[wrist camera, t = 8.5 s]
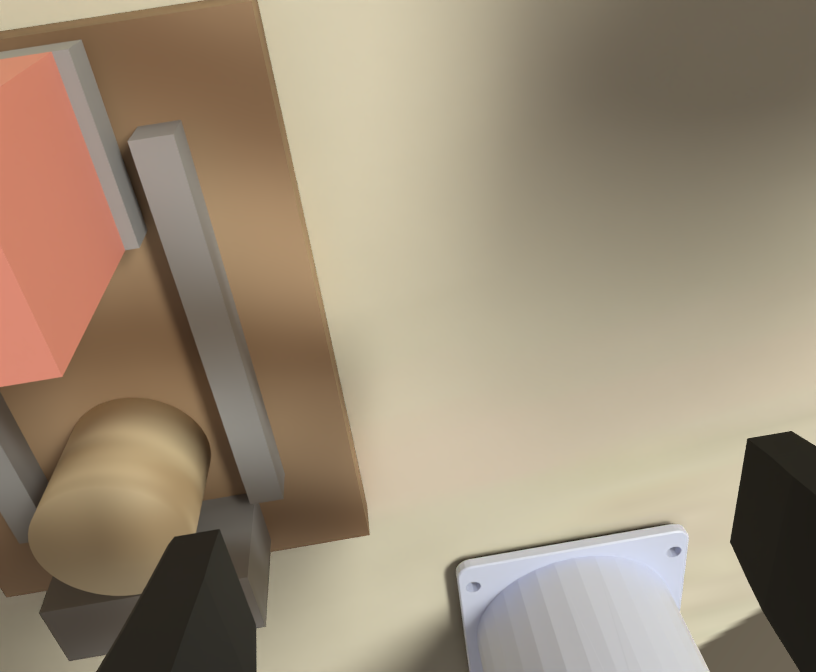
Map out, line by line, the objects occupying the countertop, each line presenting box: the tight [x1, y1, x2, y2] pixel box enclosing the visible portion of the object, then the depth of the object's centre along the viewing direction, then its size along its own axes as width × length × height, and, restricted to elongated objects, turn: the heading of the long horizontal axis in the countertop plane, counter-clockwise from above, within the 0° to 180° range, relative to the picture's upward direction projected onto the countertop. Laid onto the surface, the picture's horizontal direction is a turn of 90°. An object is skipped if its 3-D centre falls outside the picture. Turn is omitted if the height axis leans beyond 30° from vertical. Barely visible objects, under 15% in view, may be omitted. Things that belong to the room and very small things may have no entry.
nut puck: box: [28, 398, 211, 596], centre depth 18 cm, size 4×4×3 cm
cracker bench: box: [0, 0, 370, 661], centre depth 17 cm, size 15×11×4 cm
